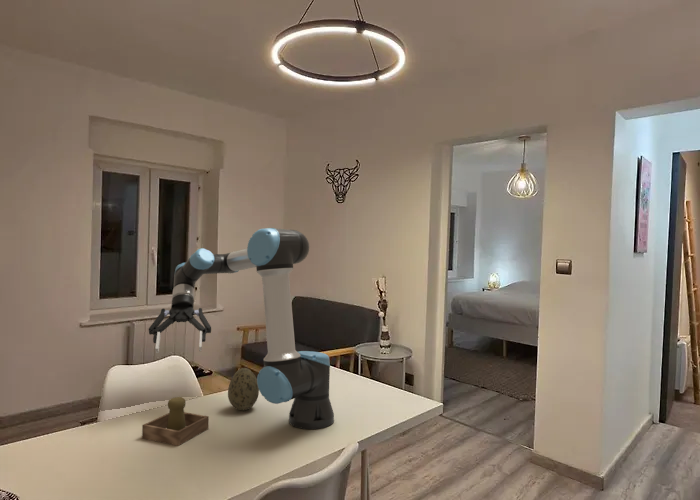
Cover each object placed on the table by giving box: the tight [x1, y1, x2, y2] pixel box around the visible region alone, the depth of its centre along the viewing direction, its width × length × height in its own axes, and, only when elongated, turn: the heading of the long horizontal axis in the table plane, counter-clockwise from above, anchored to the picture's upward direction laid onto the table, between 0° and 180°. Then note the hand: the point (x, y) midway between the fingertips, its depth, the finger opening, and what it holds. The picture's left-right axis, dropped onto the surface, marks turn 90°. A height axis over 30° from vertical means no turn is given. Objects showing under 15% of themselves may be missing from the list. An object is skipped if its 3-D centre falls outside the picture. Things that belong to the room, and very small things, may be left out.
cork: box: [167, 396, 187, 431], centre depth 142 cm, size 6×6×11 cm
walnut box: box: [141, 411, 209, 447], centre depth 142 cm, size 14×14×4 cm
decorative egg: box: [227, 367, 260, 411], centre depth 164 cm, size 11×11×15 cm
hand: (178, 350), depth 152 cm, fingers open, 13 cm apart
